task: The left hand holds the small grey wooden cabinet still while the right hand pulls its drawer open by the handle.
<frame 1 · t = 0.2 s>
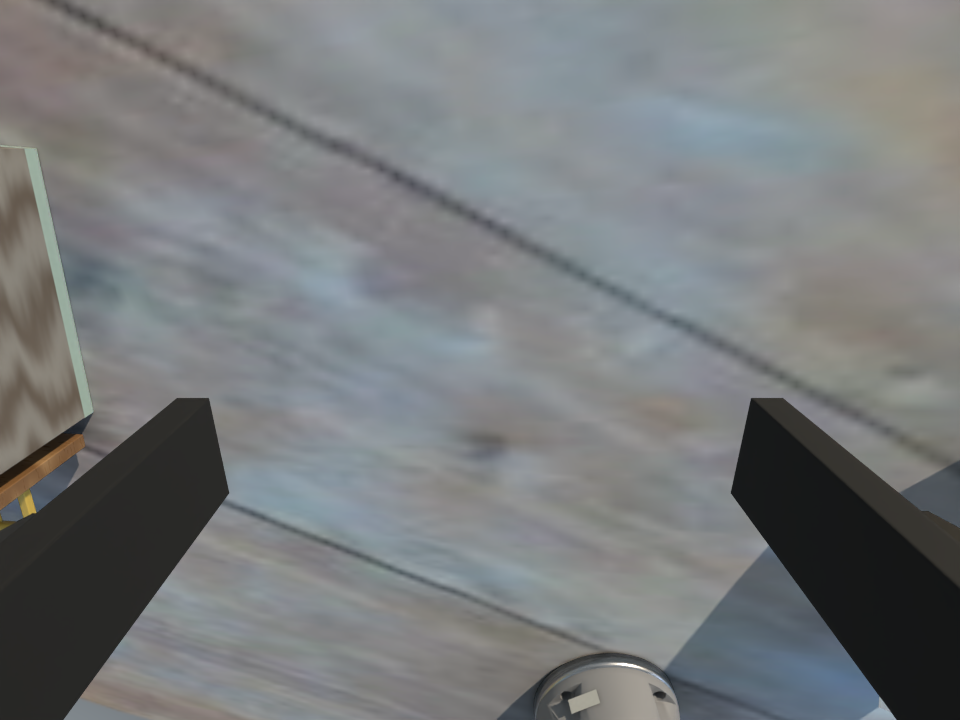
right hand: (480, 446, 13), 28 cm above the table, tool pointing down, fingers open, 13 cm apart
cabinet: (28, 289, 40), on the table
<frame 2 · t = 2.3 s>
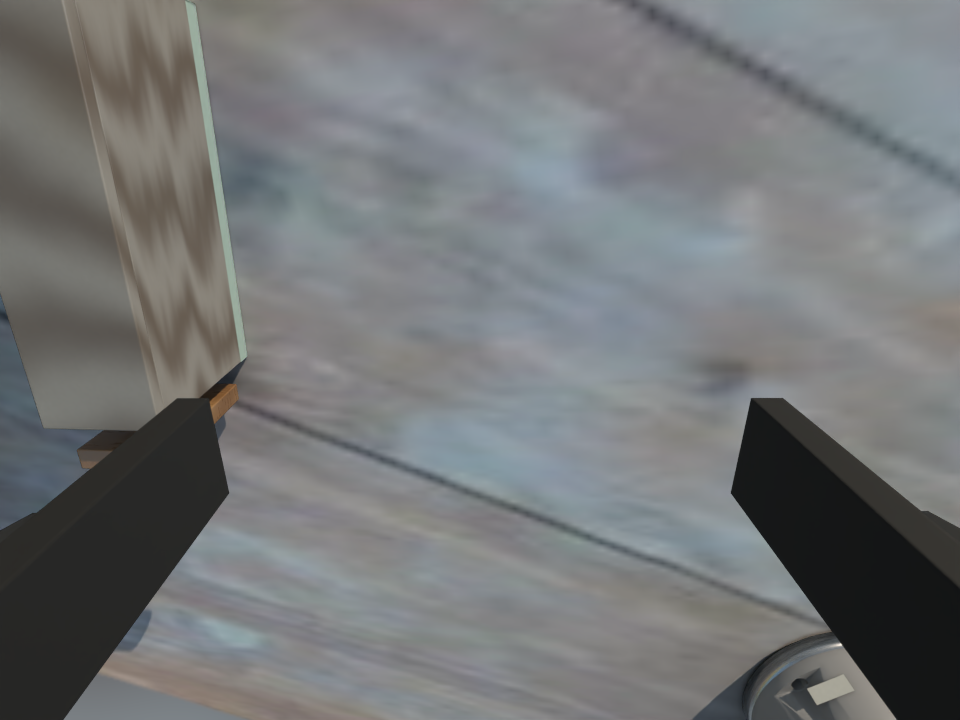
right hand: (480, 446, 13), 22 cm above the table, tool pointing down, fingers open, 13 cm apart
cabinet: (176, 199, 32), on the table
drawer: (146, 319, 30), point 5 cm above the table, slide at 1.7 cm
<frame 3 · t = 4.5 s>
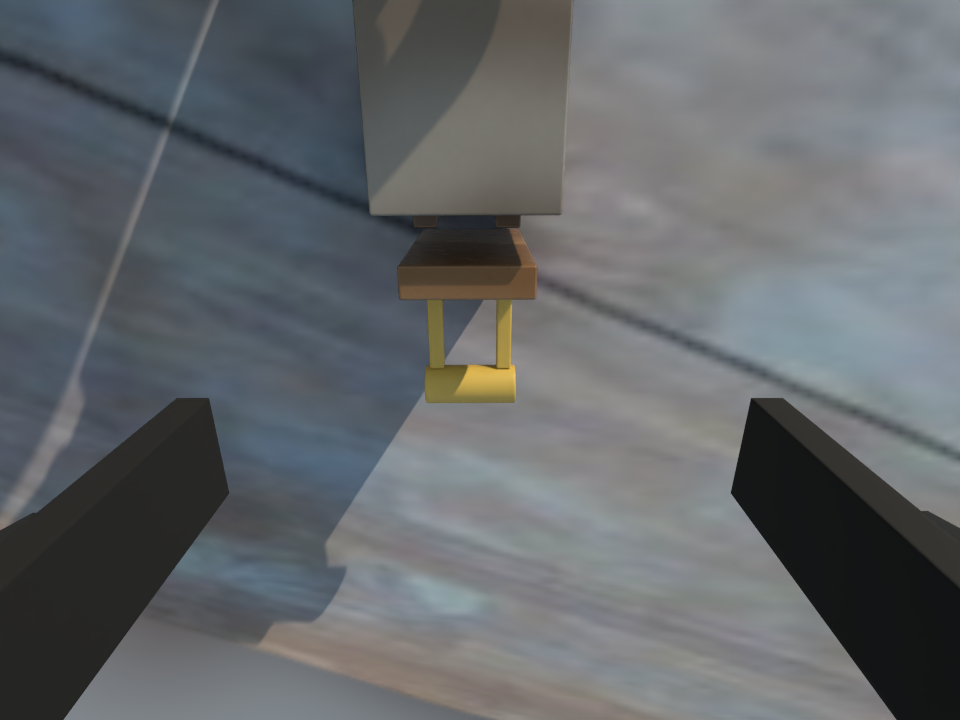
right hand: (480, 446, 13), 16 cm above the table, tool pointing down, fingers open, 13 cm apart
drawer: (467, 82, 19), point 5 cm above the table, slide at 1.7 cm
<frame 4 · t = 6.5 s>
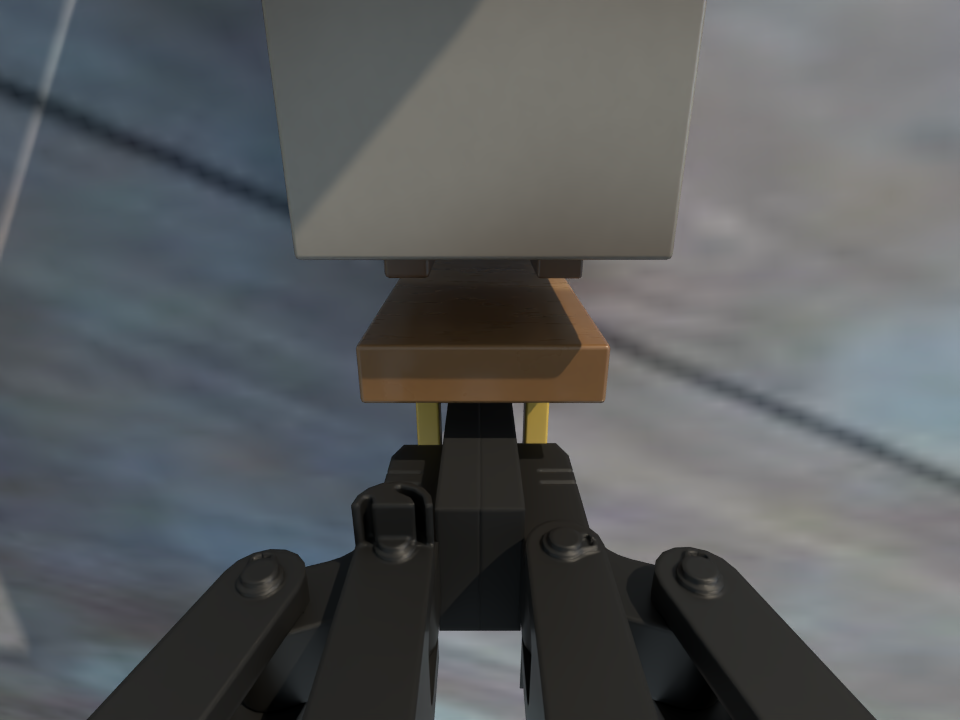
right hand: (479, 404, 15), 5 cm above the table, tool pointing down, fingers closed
drawer: (482, 24, 11), point 5 cm above the table, slide at 1.7 cm, touching right hand
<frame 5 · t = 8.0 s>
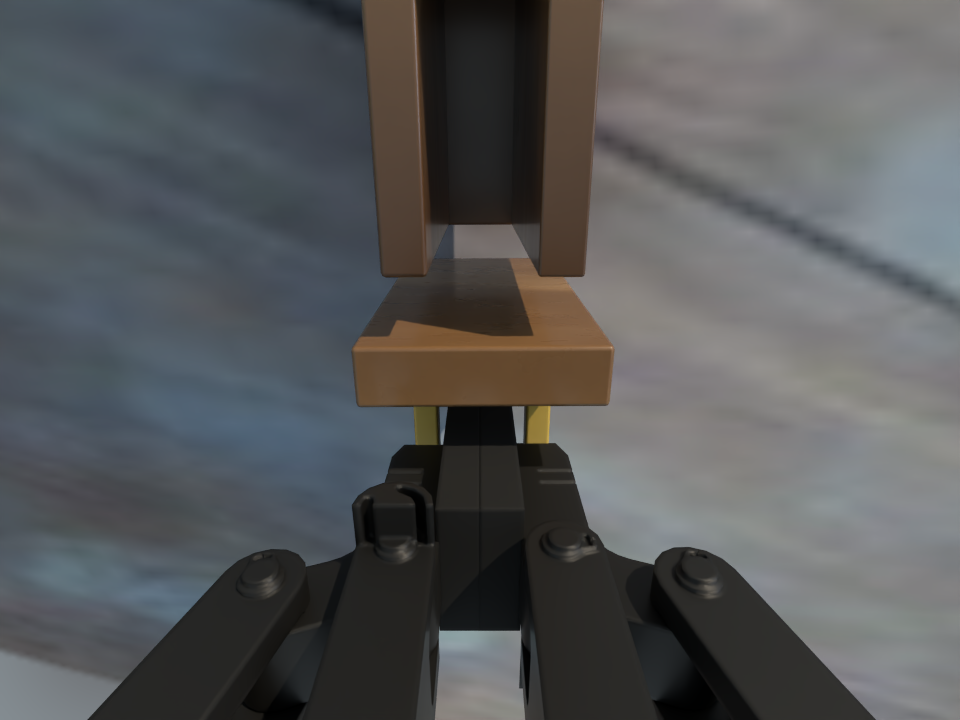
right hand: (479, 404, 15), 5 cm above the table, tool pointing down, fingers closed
drawer: (480, 18, 11), point 6 cm above the table, slide at 8.1 cm, touching right hand
when the left hand's fingers open (7 cm above the table, at t = 9.7 s): cabinet stays where it is, on the table.
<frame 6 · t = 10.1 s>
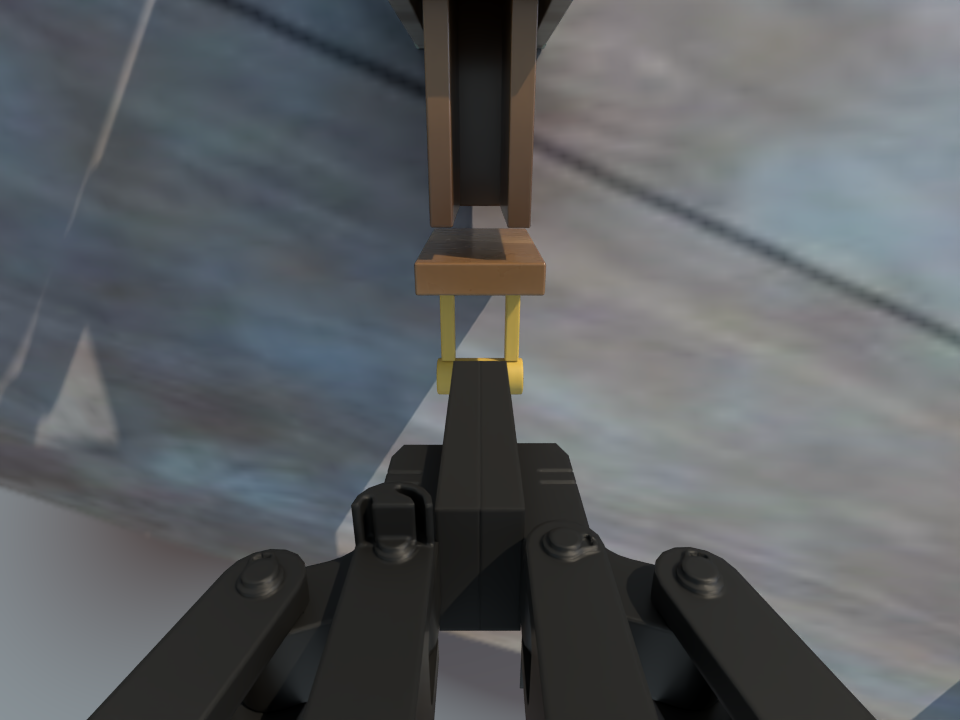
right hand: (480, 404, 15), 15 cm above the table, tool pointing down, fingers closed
drawer: (480, 89, 20), point 5 cm above the table, slide at 8.1 cm
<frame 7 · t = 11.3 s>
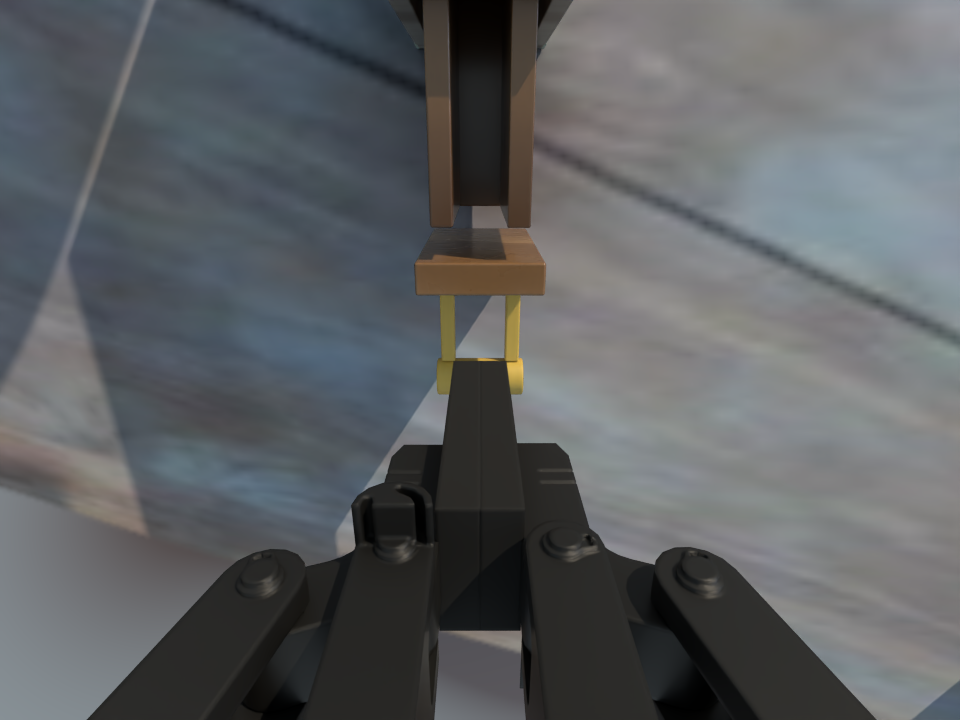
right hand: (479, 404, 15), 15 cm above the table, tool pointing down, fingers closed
drawer: (480, 89, 20), point 5 cm above the table, slide at 8.1 cm
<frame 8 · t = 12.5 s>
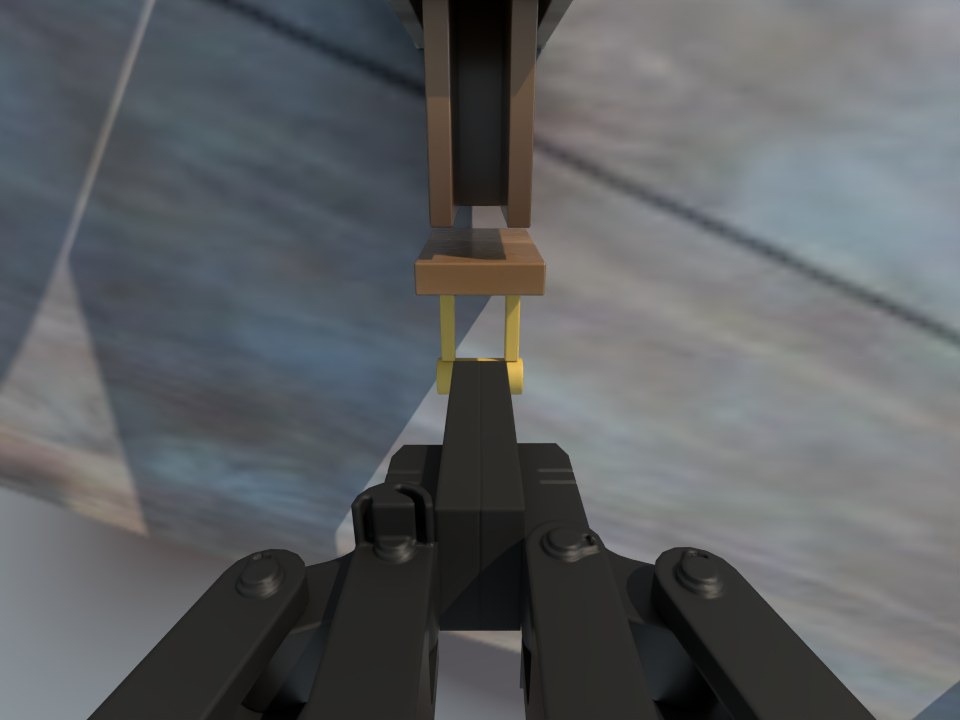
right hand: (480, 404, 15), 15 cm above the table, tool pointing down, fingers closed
drawer: (480, 89, 20), point 5 cm above the table, slide at 8.1 cm
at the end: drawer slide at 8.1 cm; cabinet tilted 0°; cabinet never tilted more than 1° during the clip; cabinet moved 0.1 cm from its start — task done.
